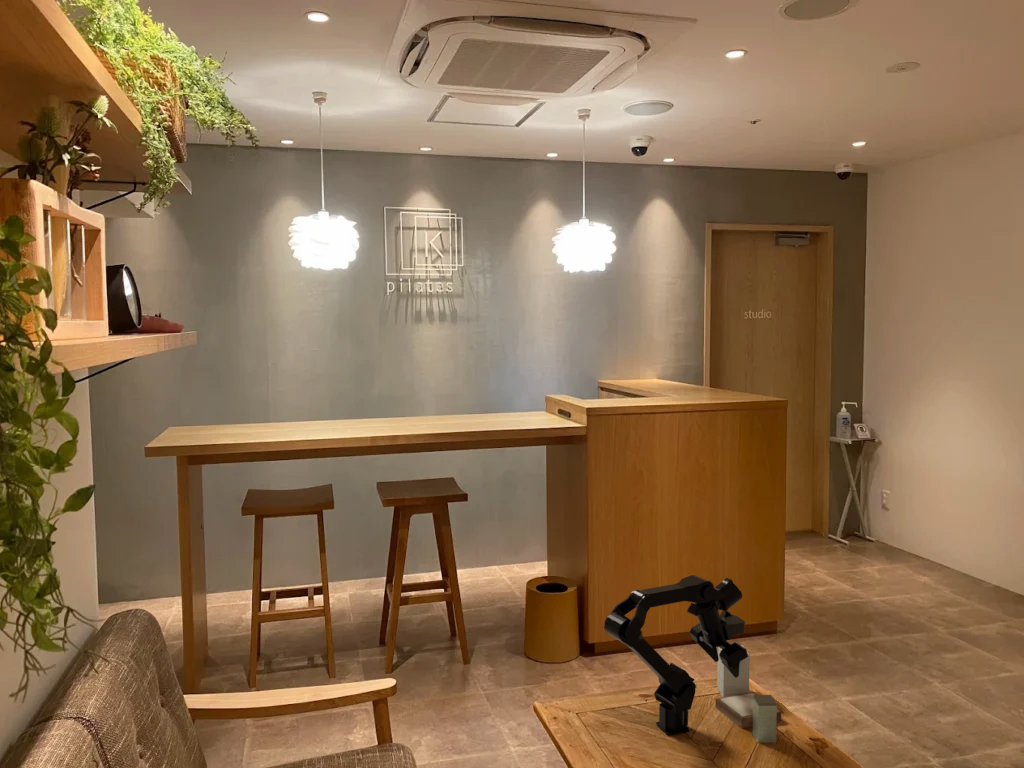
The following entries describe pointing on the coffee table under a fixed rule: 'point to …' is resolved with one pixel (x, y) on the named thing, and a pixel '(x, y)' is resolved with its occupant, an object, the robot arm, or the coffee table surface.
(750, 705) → the brown framed square mirror
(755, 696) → the olive grey square block
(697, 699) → the coffee table surface
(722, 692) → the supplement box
